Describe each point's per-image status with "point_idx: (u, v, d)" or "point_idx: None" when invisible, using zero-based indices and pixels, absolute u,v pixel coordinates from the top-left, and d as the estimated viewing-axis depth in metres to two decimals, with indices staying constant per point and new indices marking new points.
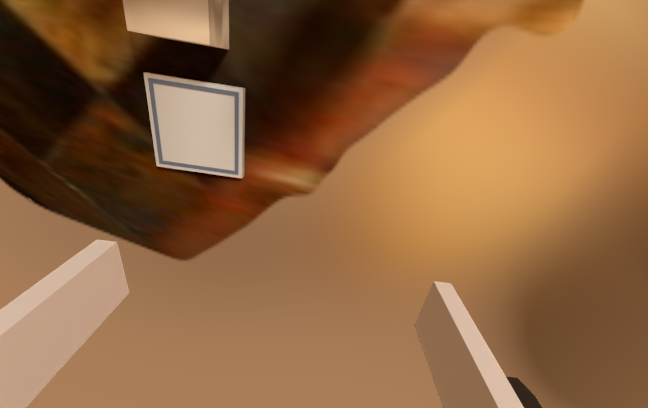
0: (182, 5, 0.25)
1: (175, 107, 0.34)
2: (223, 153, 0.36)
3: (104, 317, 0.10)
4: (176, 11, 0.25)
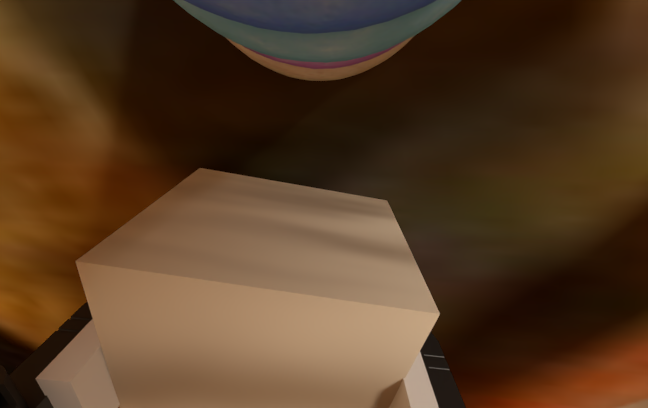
0: None
1: None
2: None
3: None
4: None
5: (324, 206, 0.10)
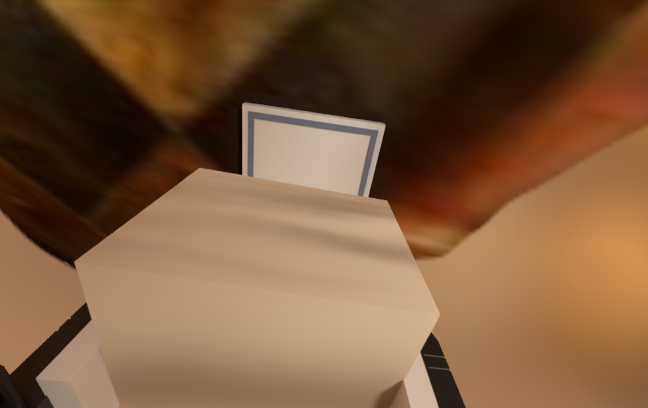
0: None
1: (281, 151, 0.23)
2: None
3: None
4: None
5: (324, 206, 0.10)
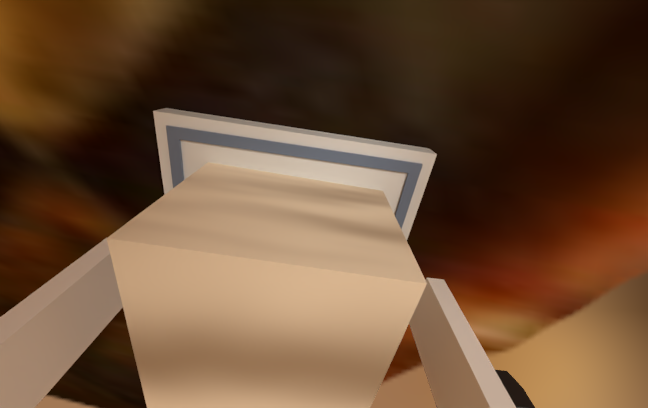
0: (307, 386, 0.09)
1: None
2: None
3: (114, 314, 0.10)
4: (286, 393, 0.09)
5: (324, 195, 0.11)
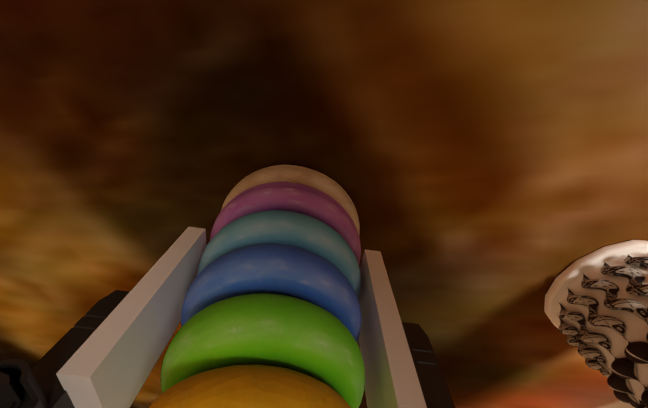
0: None
1: None
2: None
3: None
4: None
5: None
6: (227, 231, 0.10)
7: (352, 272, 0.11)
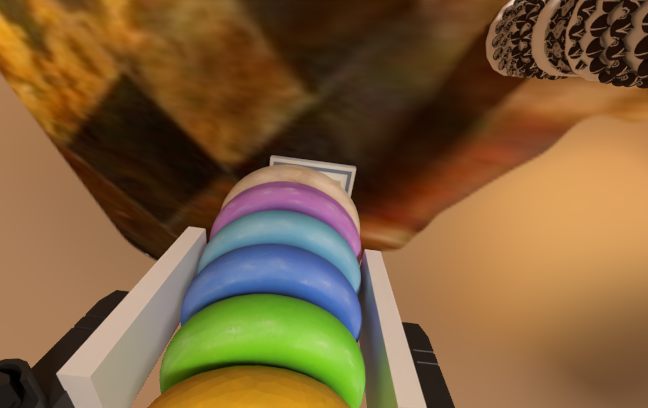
0: None
1: None
2: None
3: None
4: None
5: None
6: (227, 231, 0.10)
7: (352, 272, 0.10)
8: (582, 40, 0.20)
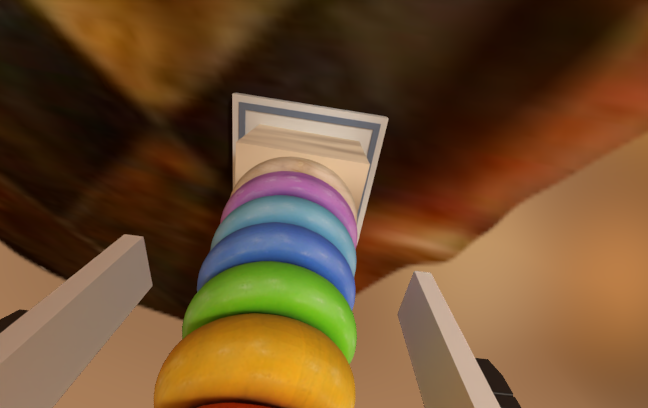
0: None
1: None
2: None
3: (131, 308, 0.11)
4: None
5: (325, 140, 0.20)
6: (237, 213, 0.11)
7: (348, 251, 0.12)
8: None
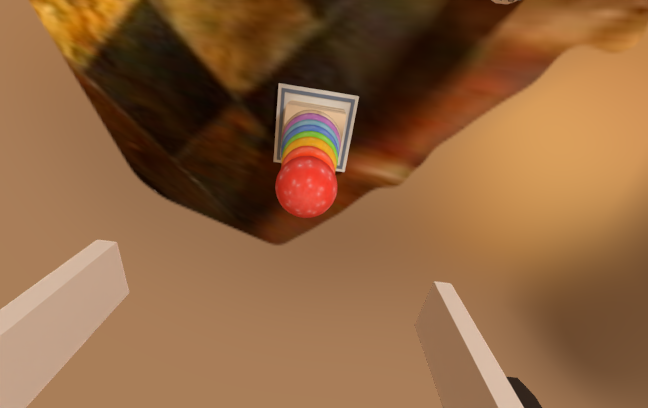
0: None
1: None
2: None
3: (104, 317, 0.10)
4: None
5: (326, 107, 0.38)
6: (294, 125, 0.30)
7: (335, 141, 0.31)
8: None
